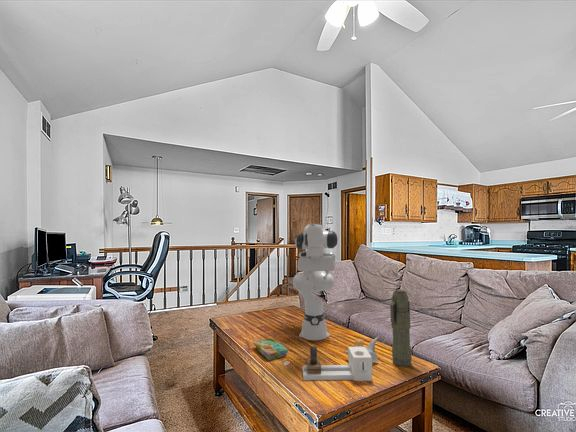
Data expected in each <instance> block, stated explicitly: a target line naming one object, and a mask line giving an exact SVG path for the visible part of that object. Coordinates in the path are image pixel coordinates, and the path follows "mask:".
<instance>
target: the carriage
mask: <svg viewBox="0 0 576 432" xmlns="http://www.w3.org/2000/svg"><path fill="white" fill-rule="evenodd" d="M309 351H310V353H309V354H310V359H306V365H307V369H308V373H321V365H322V364H321V360H320V359H318V349H317V346H314V345H313V346H310V348H309Z"/></svg>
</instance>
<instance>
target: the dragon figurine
mask: <svg viewBox="0 0 576 432" xmlns="http://www.w3.org/2000/svg"><path fill="white" fill-rule="evenodd" d="M379 338H380V335H378V336H376V337H375V338H374V339H372V340H371V341H370V342H369V344H368V345H367V347H366V349H367V351H368V352H369V354H370V355H371V357H372V366H373V365H375V364H374V363H375V362H379V358H378V354H376V353H375V352H376V351H375V350H376V346H375V345H376V343H377V342H378V339H379ZM353 347H364V346H356V345H355V344H354V346H353ZM346 354H347V359H349V356H348V348H347V349H346Z"/></svg>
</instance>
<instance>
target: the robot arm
mask: <svg viewBox="0 0 576 432" xmlns="http://www.w3.org/2000/svg"><path fill="white" fill-rule="evenodd" d="M338 240H339V239H338V235H337V233H336V232H335V231H334V230H327V229H324V228H323V225H322V224H320V223H309V224H307V225H306V226H304V228H303V233H302V232H300V233H298V234H297V236H296V238H295V239H294V243H295V247H296V248H297V250H305V251H302V252H299V254H298V257H299V258H298V259H297V265H296V267H297V271H299V272H302V273H297V274H295V275H294V277H292V278H293V279H292V285H293V288H294V289H295V290H296V291H297V292H299V294H300V295H301V296H302V298H303V301H304V302H303V303H304V315H303V316H304V321H303V322H302V323H301V331H300V333H299V335H298V336H299V337H300V338H301V339H305V340H307V341H323V340H325V339H326V338H329V337H331V335H330V333H329V332H328V330H327V329H328V328H327V322H326V321H325V314H324V309H323V308H324V302H323V300H322V298H321V297H319V296H317V295H315V294H314V293H313V292H325V291H326V292H327V291H330V290H332V289H333V288H334V286H335V278H334V276H333V275H332V274H331V273H330V272H333V271H336V262H335V261H336V255H335V253H332V252H329V253H327V252H326V253H325V249H334V248H335V247H336V246H337V245H338Z"/></svg>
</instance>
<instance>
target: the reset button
mask: <svg viewBox="0 0 576 432" xmlns="http://www.w3.org/2000/svg"><path fill="white" fill-rule="evenodd" d="M364 343H365V340H364V339H362V338H355V339H354V345H356V346H363V347H365V344H364Z"/></svg>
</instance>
